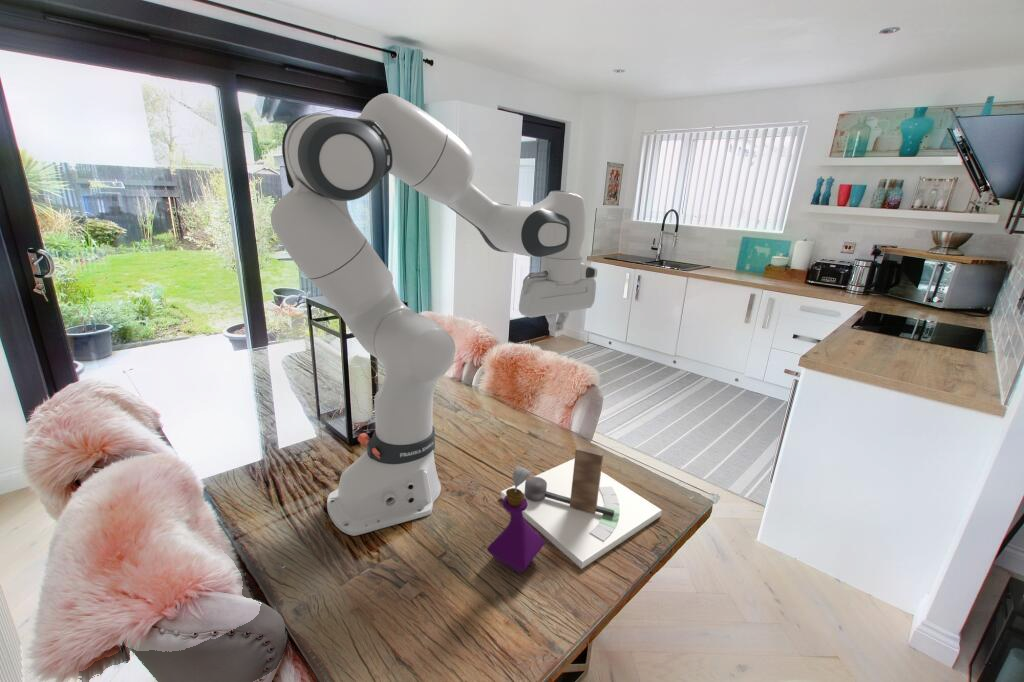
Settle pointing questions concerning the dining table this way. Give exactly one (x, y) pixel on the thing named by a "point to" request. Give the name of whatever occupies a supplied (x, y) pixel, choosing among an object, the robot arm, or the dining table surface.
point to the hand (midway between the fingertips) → (555, 331)
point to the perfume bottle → (516, 530)
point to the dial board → (586, 516)
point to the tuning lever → (575, 483)
